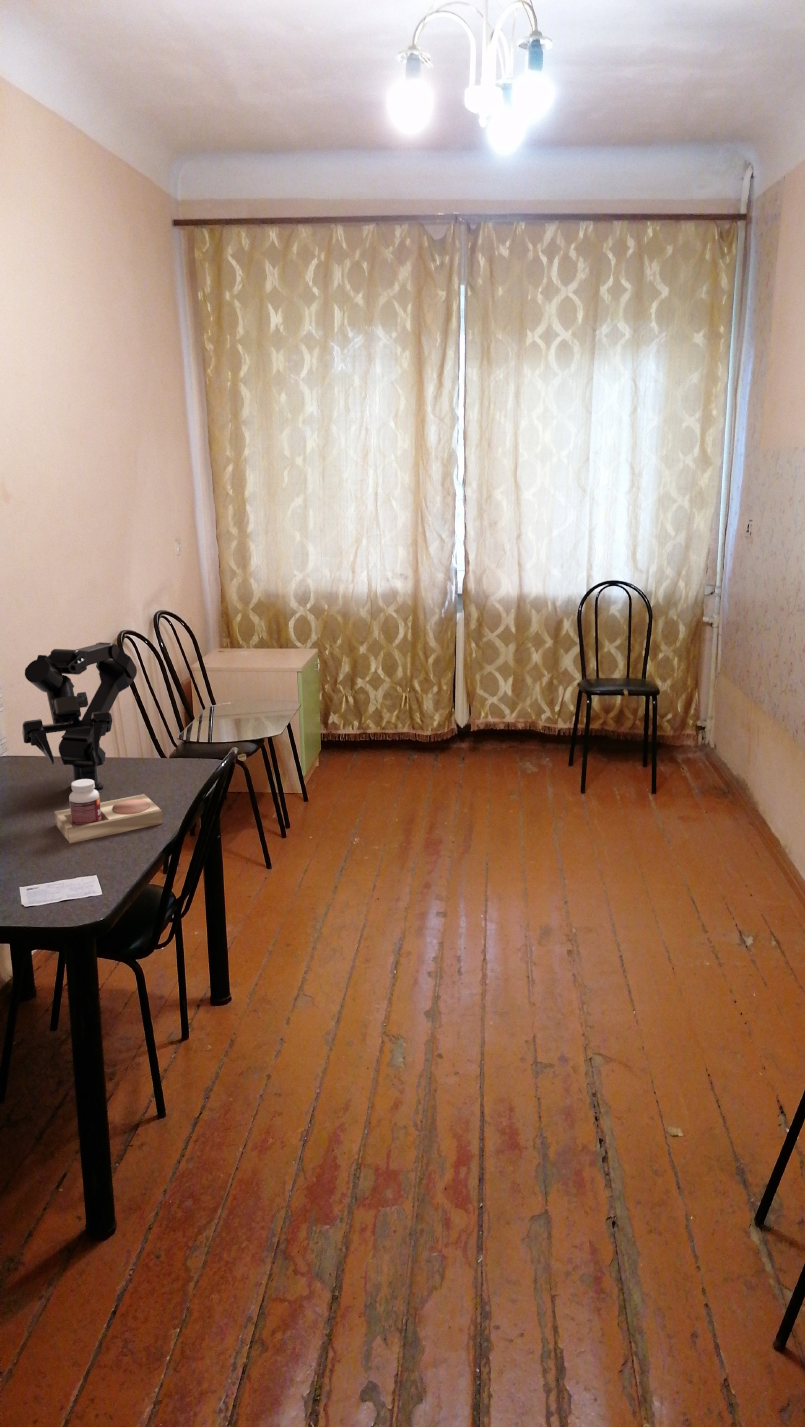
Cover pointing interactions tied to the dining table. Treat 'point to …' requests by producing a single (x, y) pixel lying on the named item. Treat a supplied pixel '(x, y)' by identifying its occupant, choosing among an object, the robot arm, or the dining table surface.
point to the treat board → (112, 818)
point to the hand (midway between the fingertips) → (74, 760)
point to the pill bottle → (84, 803)
